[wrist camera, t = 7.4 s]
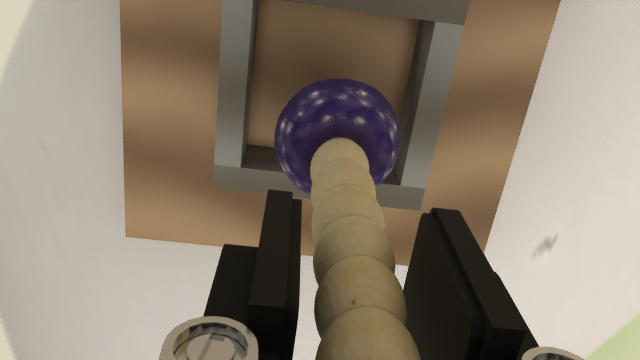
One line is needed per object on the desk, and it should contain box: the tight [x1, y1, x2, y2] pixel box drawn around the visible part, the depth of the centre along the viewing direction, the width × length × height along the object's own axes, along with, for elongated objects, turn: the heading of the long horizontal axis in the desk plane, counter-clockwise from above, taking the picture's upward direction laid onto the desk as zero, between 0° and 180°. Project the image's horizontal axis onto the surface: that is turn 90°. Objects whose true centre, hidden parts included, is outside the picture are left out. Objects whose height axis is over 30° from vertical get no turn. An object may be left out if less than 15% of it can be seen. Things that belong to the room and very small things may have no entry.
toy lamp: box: [274, 78, 421, 360], centre depth 10 cm, size 5×5×17 cm
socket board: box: [120, 0, 561, 266], centre depth 25 cm, size 20×20×4 cm
